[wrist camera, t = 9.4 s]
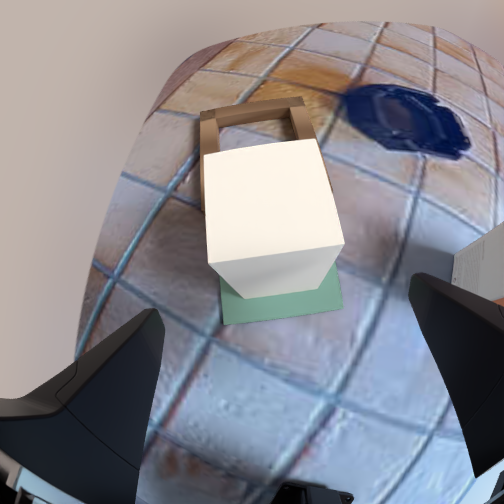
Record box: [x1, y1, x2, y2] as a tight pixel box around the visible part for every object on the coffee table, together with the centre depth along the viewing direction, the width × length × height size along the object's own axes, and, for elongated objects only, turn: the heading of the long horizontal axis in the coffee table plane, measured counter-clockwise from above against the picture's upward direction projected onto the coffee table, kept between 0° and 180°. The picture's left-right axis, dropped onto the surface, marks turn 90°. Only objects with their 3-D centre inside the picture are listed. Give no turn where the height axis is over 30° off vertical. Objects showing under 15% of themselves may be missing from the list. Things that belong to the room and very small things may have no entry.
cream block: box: [204, 139, 345, 299], centre depth 16 cm, size 6×6×10 cm
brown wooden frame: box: [200, 97, 333, 217], centre depth 24 cm, size 12×11×2 cm
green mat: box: [219, 261, 344, 325], centre depth 21 cm, size 9×9×1 cm
